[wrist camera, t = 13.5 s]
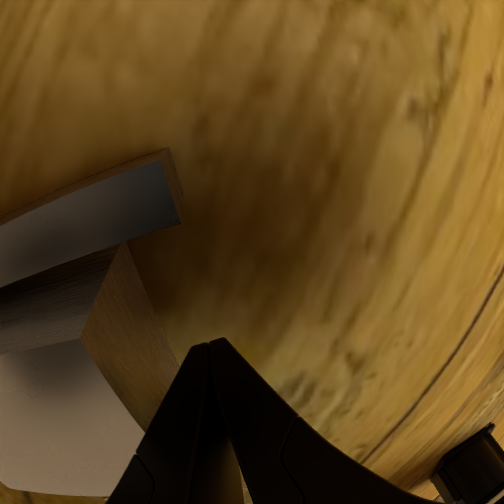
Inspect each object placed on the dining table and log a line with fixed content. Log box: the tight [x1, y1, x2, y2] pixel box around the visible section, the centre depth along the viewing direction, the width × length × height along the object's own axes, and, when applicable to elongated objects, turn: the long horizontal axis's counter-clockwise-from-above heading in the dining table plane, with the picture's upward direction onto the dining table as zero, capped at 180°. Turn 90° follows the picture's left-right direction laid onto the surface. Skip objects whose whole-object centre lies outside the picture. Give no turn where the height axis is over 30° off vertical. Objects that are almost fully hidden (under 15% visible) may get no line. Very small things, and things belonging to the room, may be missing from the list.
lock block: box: [0, 241, 180, 496], centre depth 7 cm, size 7×6×4 cm
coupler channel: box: [0, 148, 183, 287], centre depth 8 cm, size 12×9×3 cm
